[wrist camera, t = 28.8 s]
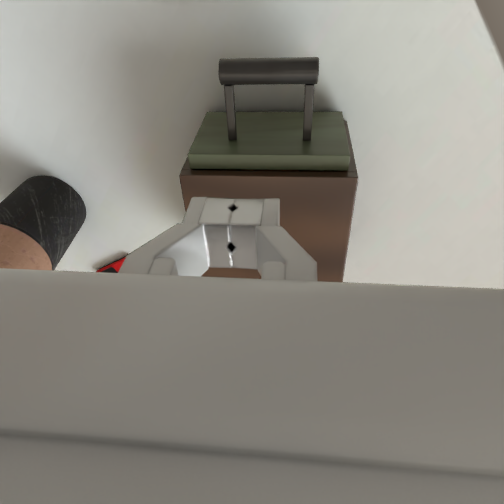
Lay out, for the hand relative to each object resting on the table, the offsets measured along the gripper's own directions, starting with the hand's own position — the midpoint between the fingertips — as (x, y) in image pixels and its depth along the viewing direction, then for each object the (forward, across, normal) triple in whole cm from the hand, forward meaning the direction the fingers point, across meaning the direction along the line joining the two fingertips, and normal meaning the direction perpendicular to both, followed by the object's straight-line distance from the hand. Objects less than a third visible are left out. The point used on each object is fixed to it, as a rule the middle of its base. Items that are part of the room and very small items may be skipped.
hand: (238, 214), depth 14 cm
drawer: (+22, 0, +9) cm, 24 cm away
